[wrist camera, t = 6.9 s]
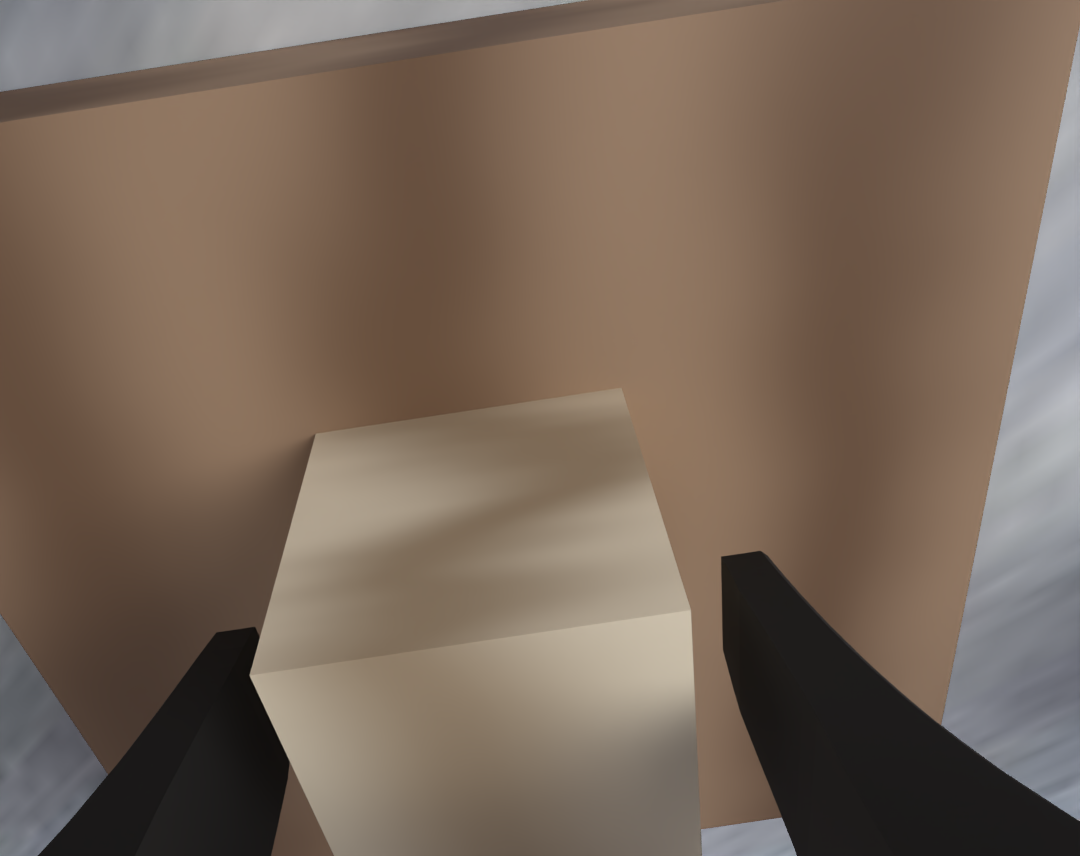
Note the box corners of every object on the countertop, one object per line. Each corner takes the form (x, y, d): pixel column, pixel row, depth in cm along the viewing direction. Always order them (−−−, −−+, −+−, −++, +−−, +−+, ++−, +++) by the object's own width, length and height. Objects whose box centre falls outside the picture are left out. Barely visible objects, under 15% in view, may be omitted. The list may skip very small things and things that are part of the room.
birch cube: (621, 388, 14) (691, 610, 9) (640, 608, 16) (702, 858, 12) (315, 433, 14) (249, 674, 9) (386, 646, 16) (358, 908, 12)
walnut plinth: (974, -60, 13) (1093, -48, 11) (876, 696, 23) (927, 796, 20) (-155, 116, 13) (-298, 169, 11) (224, 793, 23) (195, 903, 21)
